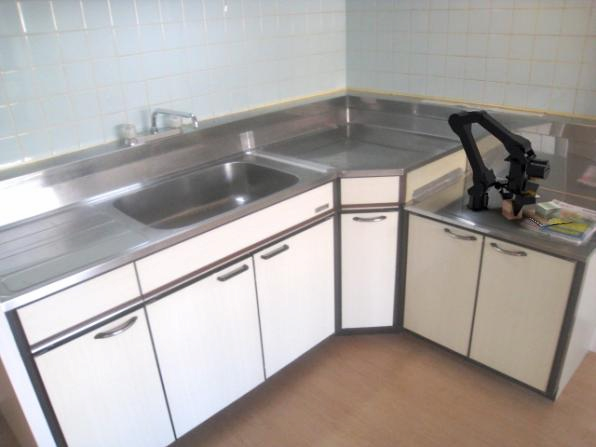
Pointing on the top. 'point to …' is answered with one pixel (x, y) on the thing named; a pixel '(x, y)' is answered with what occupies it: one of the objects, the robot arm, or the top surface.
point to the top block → (510, 210)
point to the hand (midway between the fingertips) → (511, 213)
